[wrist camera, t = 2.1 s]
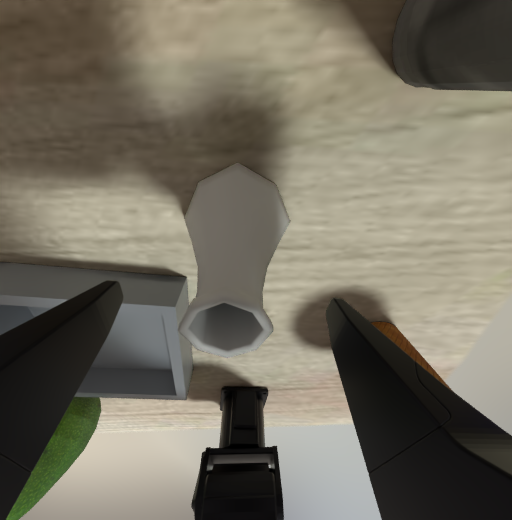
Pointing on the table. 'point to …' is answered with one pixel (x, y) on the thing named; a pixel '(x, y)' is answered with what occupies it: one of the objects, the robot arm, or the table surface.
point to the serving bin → (113, 327)
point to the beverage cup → (455, 44)
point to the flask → (232, 260)
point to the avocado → (59, 452)
